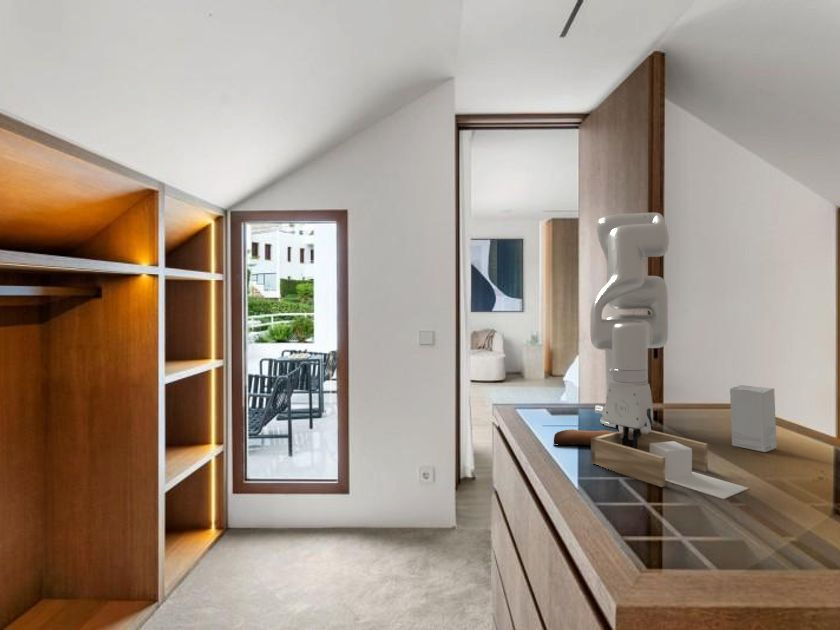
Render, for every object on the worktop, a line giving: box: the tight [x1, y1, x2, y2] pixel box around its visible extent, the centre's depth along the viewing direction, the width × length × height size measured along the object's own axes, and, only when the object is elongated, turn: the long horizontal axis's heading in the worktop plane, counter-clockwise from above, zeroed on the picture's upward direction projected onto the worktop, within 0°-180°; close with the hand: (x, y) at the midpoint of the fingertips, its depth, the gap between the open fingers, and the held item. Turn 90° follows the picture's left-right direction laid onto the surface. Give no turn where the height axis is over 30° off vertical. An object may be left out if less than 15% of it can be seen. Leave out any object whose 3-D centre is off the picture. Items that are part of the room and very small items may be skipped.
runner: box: [665, 471, 749, 500], centre depth 123 cm, size 26×9×1 cm, turn 33°
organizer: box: [590, 429, 709, 488], centre depth 129 cm, size 16×18×6 cm
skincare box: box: [729, 384, 777, 453], centre depth 141 cm, size 8×6×15 cm
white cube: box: [650, 441, 693, 479], centre depth 124 cm, size 6×6×6 cm
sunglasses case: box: [553, 429, 615, 446], centre depth 148 cm, size 18×7×7 cm
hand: (629, 454), depth 133 cm, fingers closed
